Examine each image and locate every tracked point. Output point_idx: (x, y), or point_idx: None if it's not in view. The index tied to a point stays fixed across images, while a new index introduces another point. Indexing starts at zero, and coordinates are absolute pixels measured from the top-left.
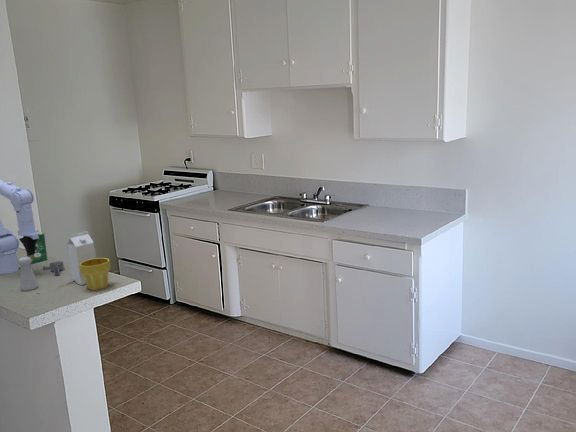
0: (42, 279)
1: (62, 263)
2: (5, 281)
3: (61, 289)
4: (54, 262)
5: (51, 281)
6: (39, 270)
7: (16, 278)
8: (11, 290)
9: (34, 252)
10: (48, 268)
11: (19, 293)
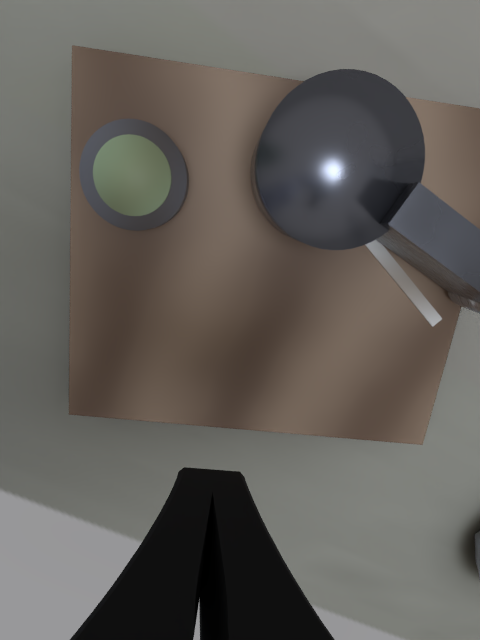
0: None
1: (411, 118)
2: (79, 513)
3: None
4: (285, 157)
5: (465, 351)
6: (10, 201)
7: (79, 438)
8: (346, 580)
9: (250, 494)
10: (184, 198)
11: (460, 582)
